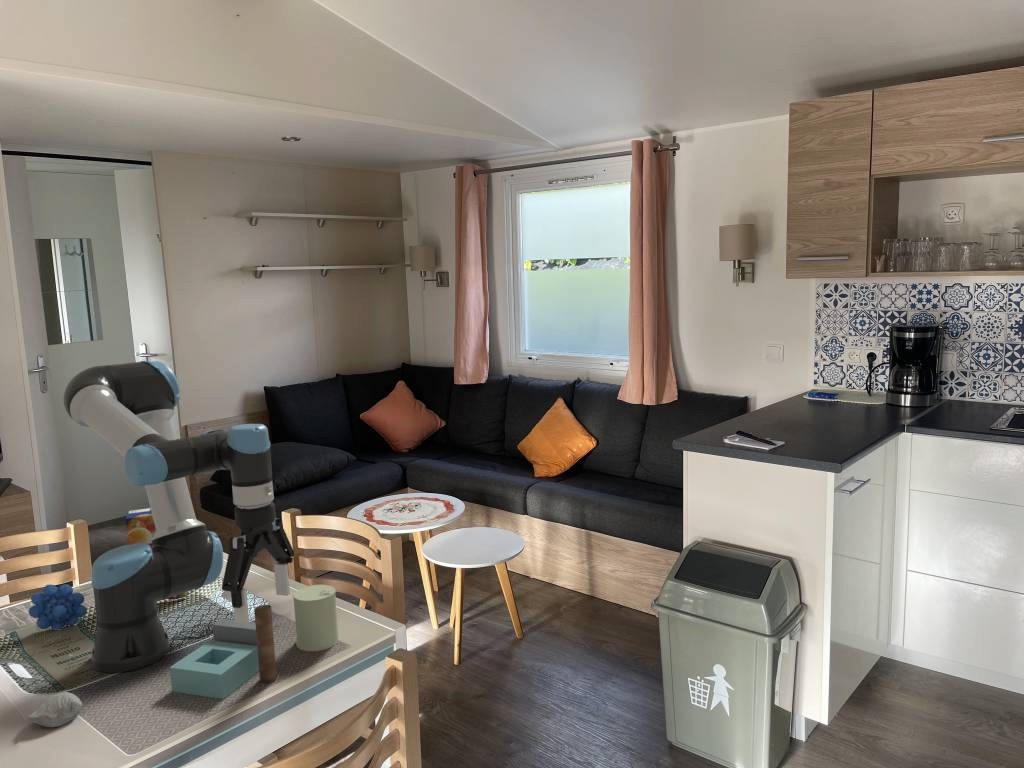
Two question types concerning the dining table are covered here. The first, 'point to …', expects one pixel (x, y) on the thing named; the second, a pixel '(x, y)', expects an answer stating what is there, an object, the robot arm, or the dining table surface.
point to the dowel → (265, 643)
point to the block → (214, 669)
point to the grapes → (57, 607)
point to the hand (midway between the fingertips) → (263, 607)
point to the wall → (235, 632)
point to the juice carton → (143, 531)
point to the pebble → (57, 710)
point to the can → (316, 617)
